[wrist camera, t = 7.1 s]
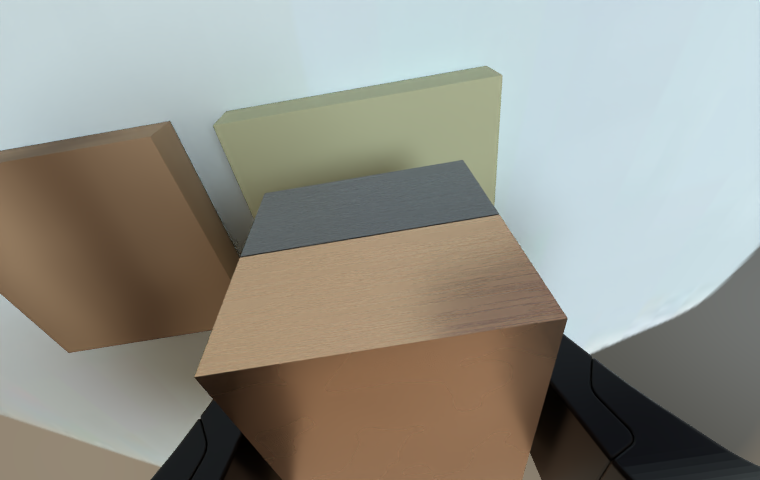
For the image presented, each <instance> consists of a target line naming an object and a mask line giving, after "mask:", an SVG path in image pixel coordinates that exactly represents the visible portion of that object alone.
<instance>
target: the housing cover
mask: <svg viewBox="0 0 760 480" xmlns="http://www.w3.org/2000/svg"><path fill="white" fill-rule="evenodd" d="M566 322H567V317H566V315H565V314H564V312H563V311H562V309H561V308H560V306H559V305H558V303H557V301H556V300H555V298H554V297H553V295H552V294H551V292H550V291H549V289H548V288H547V286H546V285H545V283H544V282H543V280H542V279H541V277H540V276H539V274H538V273H537V271H536V270H535V268H534V267H533V265H532V263H531V262H530V260H529V259H528V257H527V256H526V254H525V253H524V251H523V250H522V248H521V247H520V245H519V244H518V242H517V241H516V239H515V238H514V236H513V235H512V233H511V232H510V230H509V229H508V227H507V225H506V224H505V222H504V221H503V219H502V218H501V216H500V215H495V216H489V217H483V218H477V219H471V220H465V221H459V222H453V223H447V224H441V225H435V226H429V227H423V228H417V229H411V230H405V231H399V232H393V233H387V234H381V235H375V236H369V237H362V238H356V239H350V240H344V241H338V242H332V243H326V244H320V245H314V246H308V247H302V248H296V249H290V250H284V251H278V252H272V253H266V254H260V255H254V256H248V257H242V258H240V259H239V261H238V264H237V267H236V269H235V272H234V274H233V277H232V280H231V282H230V285H229V288H228V290H227V293H226V295H225V298H224V301H223V303H222V306H221V309H220V311H219V314H218V316H217V319H216V322H215V324H214V327H213V330H212V332H211V335H210V337H209V340H208V343H207V345H206V348H205V351H204V353H203V356H202V358H201V361H200V364H199V366H198V369H197V372H196V374H195V378H196V380H197V381H198V382H199V383H200V384H201V385H202V387H203V388H204V389H205V390H206V391H207V392H208V394H209V395H210V396H211V397H212V398H213V399H214V401H215V402H216V403H217V404H218V405H219V406H220V408H221V409H222V410H223V411H224V412H225V414H226V415H227V416H228V417H229V418H230V419H231V421H232V422H233V423H234V424H235V425H236V426H237V428H238V429H239V430H240V431H241V432H242V433H243V435H244V436H245V437H246V438H247V439H248V440H249V442H250V443H251V444H252V445H253V446H254V447H255V449H256V450H257V451H258V452H259V453H260V454H261V456H262V457H263V458H264V459H265V460H266V461H267V463H268V464H269V465H270V466H271V467H272V468H273V470H274V471H275V472H276V473H277V474H278V475H279V477H280V478H281V479H282V480H522V478H523V474H524V471H525V467H526V463H527V460H528V457H529V453H530V450H531V446H532V443H533V439H534V435H535V432H536V428H537V425H538V421H539V418H540V414H541V411H542V407H543V404H544V400H545V396H546V393H547V389H548V386H549V382H550V379H551V375H552V372H553V368H554V365H555V361H556V357H557V354H558V350H559V347H560V343H561V340H562V336H563V333H564V329H565V326H566Z"/></svg>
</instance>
